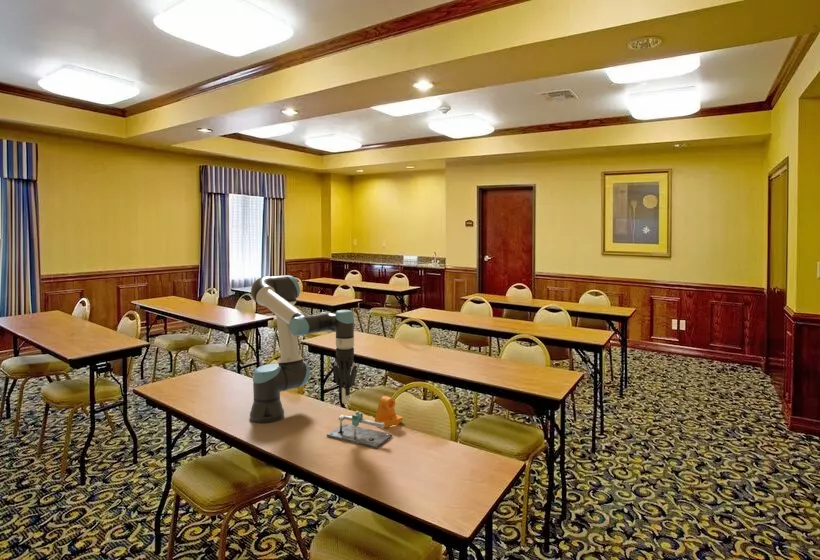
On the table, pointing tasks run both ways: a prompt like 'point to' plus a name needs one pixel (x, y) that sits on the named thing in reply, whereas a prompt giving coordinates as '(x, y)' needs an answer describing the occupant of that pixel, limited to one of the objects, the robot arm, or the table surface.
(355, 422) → the sliding leg
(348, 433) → the bolt plate
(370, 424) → the dividers bar
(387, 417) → the bracket
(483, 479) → the table surface
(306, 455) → the table surface
